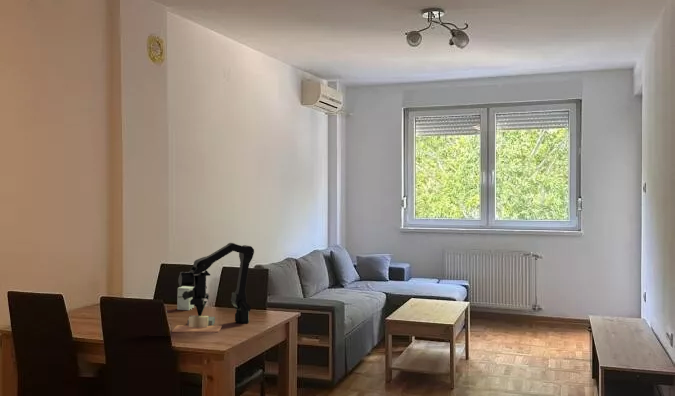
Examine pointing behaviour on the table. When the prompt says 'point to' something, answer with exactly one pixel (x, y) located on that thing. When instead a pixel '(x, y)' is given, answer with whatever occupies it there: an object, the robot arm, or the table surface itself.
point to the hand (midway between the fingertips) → (199, 316)
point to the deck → (210, 321)
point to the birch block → (198, 321)
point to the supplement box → (181, 302)
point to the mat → (196, 328)
